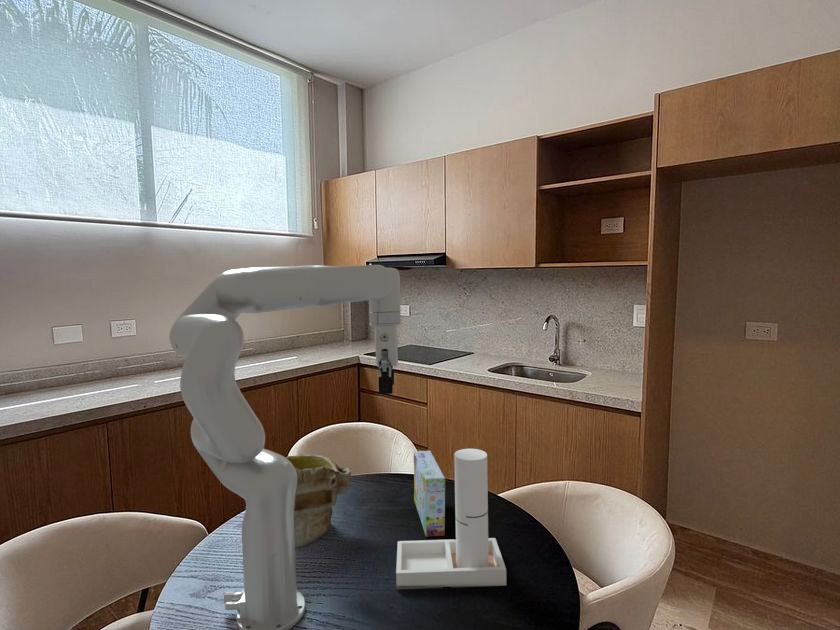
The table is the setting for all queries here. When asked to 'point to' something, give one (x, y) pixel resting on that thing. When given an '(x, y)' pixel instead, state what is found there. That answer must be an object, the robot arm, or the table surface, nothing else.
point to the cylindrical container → (471, 508)
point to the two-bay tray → (444, 566)
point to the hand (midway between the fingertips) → (386, 389)
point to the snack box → (429, 493)
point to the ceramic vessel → (316, 495)
